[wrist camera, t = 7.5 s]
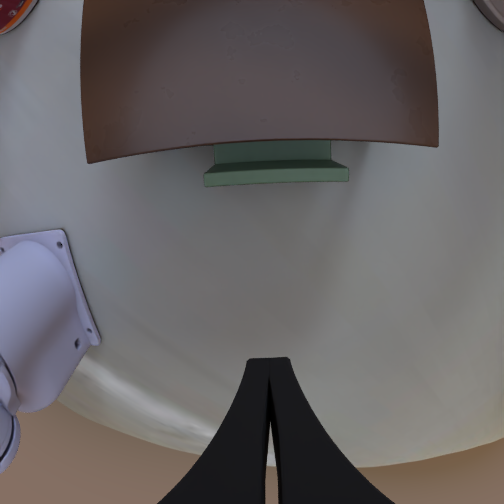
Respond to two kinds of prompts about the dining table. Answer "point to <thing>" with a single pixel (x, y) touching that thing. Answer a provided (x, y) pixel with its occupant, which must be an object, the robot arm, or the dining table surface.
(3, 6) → the pill bottle
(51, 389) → the robot arm
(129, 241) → the dining table surface
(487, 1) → the travel mug
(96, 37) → the desk
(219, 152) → the chair
